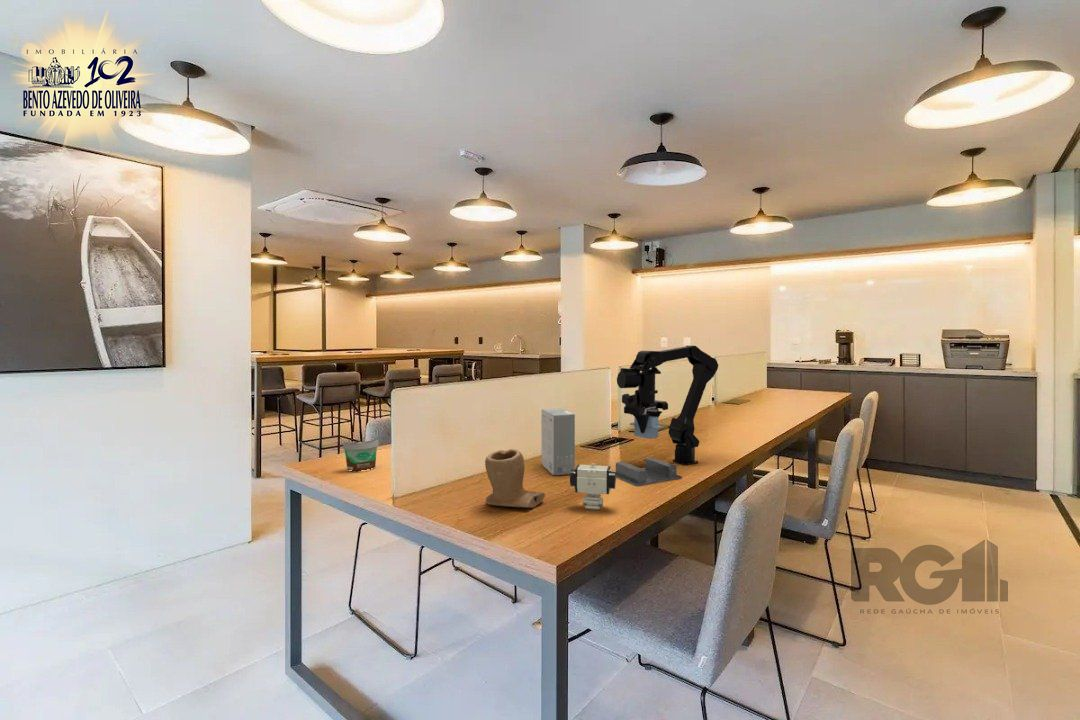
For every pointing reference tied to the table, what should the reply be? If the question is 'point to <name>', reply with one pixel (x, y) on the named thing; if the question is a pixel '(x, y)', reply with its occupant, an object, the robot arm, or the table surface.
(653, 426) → the block
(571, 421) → the hard drive box
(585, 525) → the table surface
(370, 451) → the food container
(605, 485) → the pneumatic valve
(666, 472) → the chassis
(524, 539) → the table surface
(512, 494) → the brown hollow cup shape
